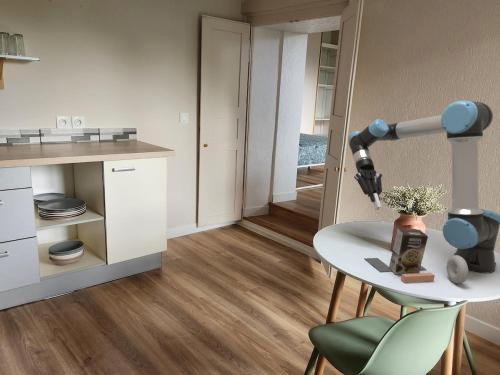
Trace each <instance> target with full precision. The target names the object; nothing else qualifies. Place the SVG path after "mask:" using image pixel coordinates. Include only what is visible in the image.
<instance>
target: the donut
mask: <svg viewBox="0 0 500 375" xmlns="http://www.w3.org/2000/svg"><path fill="white" fill-rule="evenodd" d="M445 267H446V273H447V276H448V278H449V279H450V281H451V282H453V283H455V284H463V283H464V282H465V281H466V280H467V279H468V276H469V270H468V266H467V263H466V261H465V260H464V259H463V258H462V257H461V256H458V255H454V254H453V255H452V256H450V257H449V259H447V262H446V266H445Z"/></svg>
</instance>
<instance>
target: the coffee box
mask: <svg viewBox="0 0 500 375" xmlns="http://www.w3.org/2000/svg"><path fill="white" fill-rule="evenodd" d="M428 239H429V236H428V235H427V234H426V233H425V232H424V231H422V230H421V229H412V228H411V229H410V228H397V230H396V235H395V239H394V244H393V248H392V253H391V257H390V261H389V265H388V266H389V267H390V268H391V270H392V271H393V274H394V275H398V276H402V274H416V273H420V267H421V266H422V263H423V258H424V255H425V250H426V245H427V243H428Z"/></svg>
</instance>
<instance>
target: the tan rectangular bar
mask: <svg viewBox="0 0 500 375" xmlns="http://www.w3.org/2000/svg"><path fill="white" fill-rule="evenodd" d="M400 281H401V282H402V283H403V284H414V283H416V284H417V283H431V282H432V283H433V282H434V281H435V274H434V273H432V272H424V273H423V272H422V273H421V272H419V273H416V274H402V275H401V278H400Z"/></svg>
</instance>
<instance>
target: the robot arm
mask: <svg viewBox="0 0 500 375" xmlns="http://www.w3.org/2000/svg"><path fill="white" fill-rule="evenodd" d="M493 118H494V114H493V110H492V109H491V107H490V106H489V105H488V104H486V103H484V102H481V101H480V102H479V101H471V100H457V101H454V102H452V103H450V104H448V105H447V107H445V108H444V110H443V111H442V114H440V115H434V116H429V117H422V118H417V119H413V120H412V119H411V120H406V121H401V122H396V123H386V121H384V120H382V119H380V118H377V119H375V120H374V121H373V122H371V123H370V124H369V125H368V126H366V127H365V128H364V129H363V130H362V131H361V130H356V131H353V132H350V134H349V135H348V138H347V141H348V145H349V148H350V150H351V153H352V157H353V161H354V164H355V168H356V171H357V173H356V174H355V175H354V176H353V178H354V179H355V181H357V183H358V185H359V187H360V189H361V191H362V192H363V193H364V195H367V197H368V198H369V199H370V202H372V204H373V207H374V210H375V211H376V210H377V211H378V210H379V209H381V208H382V205H381V197H380V194H381V193H383V186H382V178H383V174H382V173H378V172H377V171H376V170H375V166H374V165H375V164H374V162H373V158H372V155H371V153H370V150H369V147H371V146H372V145H373V144H375V143H376V142H378V141H381V142H382V141H383V142H384V141H391V142H392V141H393V142H395V141H397V140H401V139H410V138H417V137H423V136H425V137H426V136H429V135H430V136H431V135H439V134H445V133H446V140H447V141H448V142H450V144H451V207H450V209H448V210H447V220H446V222H445V223H444V224H443V226H442V236H443V239H444V240H445V241H446V242H447V243H448V244H449V245H450V246H452V247H453V248H456V250H455V252H454V254H453V256H454V255H458V256H461V257H462V258H463V259H464V260H465V261H466V263H467V266H468V269H469V270H468V271H472V270H473V271H472V272H476V271H479V272H478V273H483V272H490V273H492V272H491V271H494V270H495V271H496V266H497V262H496V259H495V258H496V257H495V248H496V244H497V243H496V242H497V238H498V233H499V229H500V214H499V213H498V212H494V211H491V210H487V209H483V208H480V207H479V141H480V140H482V139H483V136H484V131H485V130H486V129H488V128H489V127H490V126H491V124H492V122H493V120H494V119H493ZM495 271H494V272H495Z"/></svg>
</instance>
